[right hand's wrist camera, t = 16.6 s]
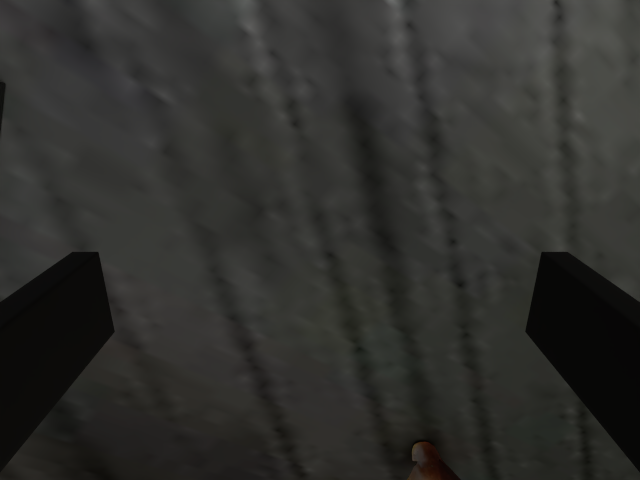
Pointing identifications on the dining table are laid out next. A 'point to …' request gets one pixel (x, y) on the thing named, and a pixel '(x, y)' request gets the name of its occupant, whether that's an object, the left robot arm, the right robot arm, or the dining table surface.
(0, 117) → the box
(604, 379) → the right robot arm
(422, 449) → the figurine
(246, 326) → the dining table surface
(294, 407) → the dining table surface
